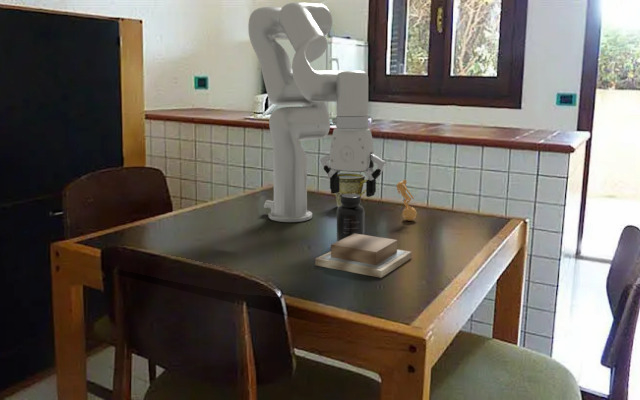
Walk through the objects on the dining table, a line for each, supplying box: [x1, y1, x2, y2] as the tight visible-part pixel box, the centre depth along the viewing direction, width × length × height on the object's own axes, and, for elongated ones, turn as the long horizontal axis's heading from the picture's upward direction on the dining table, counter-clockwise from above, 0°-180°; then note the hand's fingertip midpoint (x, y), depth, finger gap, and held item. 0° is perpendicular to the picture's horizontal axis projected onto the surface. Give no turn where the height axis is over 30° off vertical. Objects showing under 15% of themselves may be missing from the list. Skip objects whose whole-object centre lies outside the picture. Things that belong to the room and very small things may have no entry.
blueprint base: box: [314, 233, 413, 279], centre depth 141 cm, size 16×16×4 cm
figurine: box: [396, 179, 418, 222], centre depth 177 cm, size 8×6×12 cm
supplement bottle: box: [336, 194, 365, 242], centre depth 155 cm, size 7×7×12 cm
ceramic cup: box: [334, 172, 368, 208], centre depth 193 cm, size 13×10×10 cm
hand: (352, 194), depth 153 cm, fingers open, 9 cm apart
